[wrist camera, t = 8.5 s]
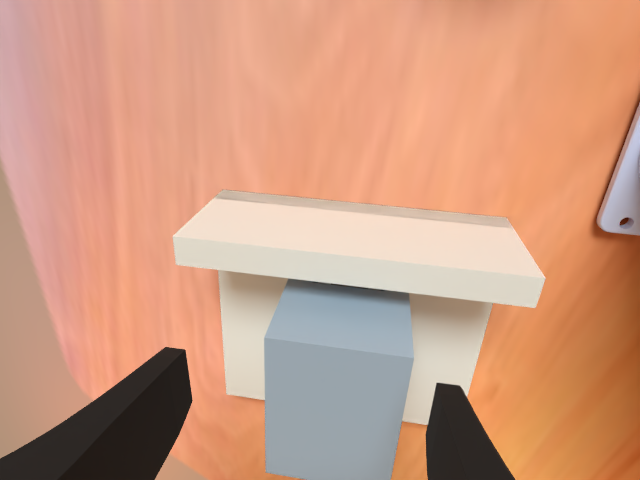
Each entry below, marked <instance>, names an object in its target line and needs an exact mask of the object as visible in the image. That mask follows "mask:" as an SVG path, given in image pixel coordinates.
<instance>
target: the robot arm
mask: <svg viewBox="0 0 640 480" xmlns="http://www.w3.org/2000/svg"><path fill="white" fill-rule="evenodd" d="M627 217H629V220H628V222H627V223H626V224H624V225H619V224H620V221H621V220H622V219H624V218H627ZM597 224H598V226H599V227H600V228H601V229H602V230H604V231H606V232H610V233H620V234H630V235H640V103H639V106H638V108H637V111H636V114H635V116H634V119H633V122H632V124H631V127H630V130H629V133H628V135H627V138H626V141H625V143H624V146H623V149H622V152H621V154H620V157H619V160H618V162H617V165H616V168H615V170H614V173H613V176H612V179H611V181H610V184H609V187H608V189H607V192H606V195H605V198H604V200H603V203H602V206H601V208H600V211H599V214H598V216H597ZM191 403H192V394H191V387H190V380H189V372H188V365H187V358H186V351H185V350H184V349H176V348H169V347H165V348H164V349H163V350H161V351H160V352H158V353H157V354H156V355H154V356H153V357H152V358H151V359H149V360H148V361H147V362H145V363H144V364H143V365H141V366H140V367H139V368H138V369H136V370H135V371H134V372H132V373H131V374H130V375H128V376H127V377H126V378H124V379H123V380H122V381H120V382H119V383H118V384H116V385H115V386H114V387H112V388H111V389H110V390H108V391H107V392H106V393H104V394H103V395H102V396H100V397H99V398H97V399H96V400H94V401H93V402H91V403H90V404H89V405H87V406H86V407H84V408H83V409H81V410H80V411H78V412H77V413H76V414H74V415H73V416H71V417H70V418H68V419H67V420H65V421H64V422H62V423H61V424H59V425H58V426H56V427H54V428H53V429H51V430H50V431H48V432H46V433H45V434H43V435H41V436H40V437H38V438H36V439H35V440H33V441H31V442H30V443H28V444H26V445H24V446H23V447H21V448H19V449H17V450H16V451H14V452H12V453H10V454H8V455H6V456H4V457H2V458H1V459H0V480H155V478H156V476H157V474H158V472H159V471H160V469H161V467H162V465H163V463H164V462H165V460H166V458H167V456H168V454H169V452H170V450H171V449H172V447H173V445H174V443H175V441H176V439H177V437H178V435H179V433H180V431H181V428H182V426H183V424H184V421H185V419H186V416H187V414H188V411H189V409H190V406H191ZM426 457H427V476H428V480H515V478H514V477H513V475H512V474H511V472H510V471H509V469H508V468H507V466H506V465H505V463H504V461H503V460H502V458H501V457H500V455H499V453H498V452H497V450H496V448H495V447H494V445H493V444H492V442H491V440H490V439H489V437H488V435H487V434H486V432H485V430H484V428H483V426H482V425H481V423H480V421H479V419H478V418H477V416H476V414H475V412H474V410H473V408H472V406H471V404H470V402H469V401H468V399H467V397H466V395H465V393H464V390H463V389H462V388H461V386H460V385H452V384H445V383H436V388H435V393H434V397H433V402H432V407H431V412H430V417H429V422H428V426H427V431H426Z"/></svg>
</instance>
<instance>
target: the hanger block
mask: <svg viewBox="0 0 640 480" xmlns="http://www.w3.org/2000/svg"><path fill="white" fill-rule="evenodd" d="M413 361H414V351H413V338H412V325H411V312H410V299H409V293H407V292H398V291H390V290H382V289H381V291H379V290H371V289H363V288H354V287H346V286H338V285H330V284H321V283H318V282H315V281H307V280H299V279H290V278H288V281H287V283H286V286H285V288H284V291H283V293H282V295H281V298H280V300H279V303H278V305H277V308H276V310H275V312H274V315H273V317H272V320H271V322H270V324H269V327H268V329H267V332H266V334H265V337H264V371H265V456H266V473H271V474H277V475H283V476H289V477H295V478H300V479H306V480H391V476H392V470H393V465H394V460H395V455H396V450H397V444H398V439H399V434H400V429H401V424H402V418H403V413H404V408H405V403H406V398H407V392H408V387H409V382H410V377H411V372H412V366H413Z"/></svg>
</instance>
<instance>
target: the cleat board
mask: <svg viewBox="0 0 640 480" xmlns="http://www.w3.org/2000/svg"><path fill="white" fill-rule="evenodd" d="M173 244H174V252H175V261H176V265H182V266H190V267H199V268H207V269H215V270H218V275H219V290H220V305H221V320H222V335H223V349H224V364H225V379H226V394H228V395H235V396H241V397H248V398H254V399H261V400H265V371H264V337H265V334H266V332H267V329H268V327H269V324H270V322H271V320H272V317H273V315H274V312H275V310H276V308H277V305H278V303H279V300H280V298H281V295H282V293H283V291H284V288H285V286H286V283H287V281H288V278H290V279H299V280H307V281H315V282H318V283H321V284H330V285H338V286H346V287H354V288H363V289H371V290H379V291H381V289H382V290H390V291H398V292H407V293H409V299H410V312H411V325H412V338H413V351H414V361H413V366H412V372H411V377H410V382H409V387H408V392H407V398H406V403H405V408H404V413H403V418H402V421H404V422H411V423H417V424H424V425H428V422H429V417H430V412H431V407H432V402H433V397H434V393H435V388H436V383H445V384H452V385H460V386H461V388H462V389H463V390H464V393H465V395H466V397H467V395H468V392H469V388H470V384H471V381H472V377H473V374H474V370H475V366H476V363H477V359H478V356H479V352H480V348H481V345H482V341H483V338H484V334H485V330H486V327H487V323H488V320H489V316H490V312H491V309H492V305H493V303H498V304H507V305H515V306H523V307H532V308H536V305H537V302H538V299H539V296H540V293H541V290H542V287H543V284H544V281H545V276H544V275H543V273H542V272H541V270H540V269H539V267H538V266H537V264H536V262H535V261H534V259H533V258H532V256H531V255H530V253H529V252H528V250H527V249H526V247H525V245H524V244H523V242H522V241H521V239H520V238H519V236H518V235H517V233H516V231H515V230H514V228H513V227H512V225H511V224H510V222H509V221H508V219H507V218H505V217H495V216H485V215H475V214H465V213H455V212H444V211H434V210H424V209H414V208H404V207H394V206H383V205H373V204H363V203H353V202H343V201H333V200H322V199H312V198H302V197H292V196H282V195H272V194H261V193H251V192H241V191H231V190H222V191H221V192H220V193H219V194H217V195H216V196H215V197H214V198H213V199H212V200H211V201H210V202H209V203H208V204H207V205H206V206H205V207H203V208H202V209H201V210H200V211H199V212H198V213H197V214H196V215H195V216H194V217H193V218H192V219H191V220H190V221H188V222H187V223H186V224H185V225H184V226H183V227H182V228H181V229H180V230H179V231H178V232H177V233H176V234H174V235H173Z"/></svg>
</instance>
